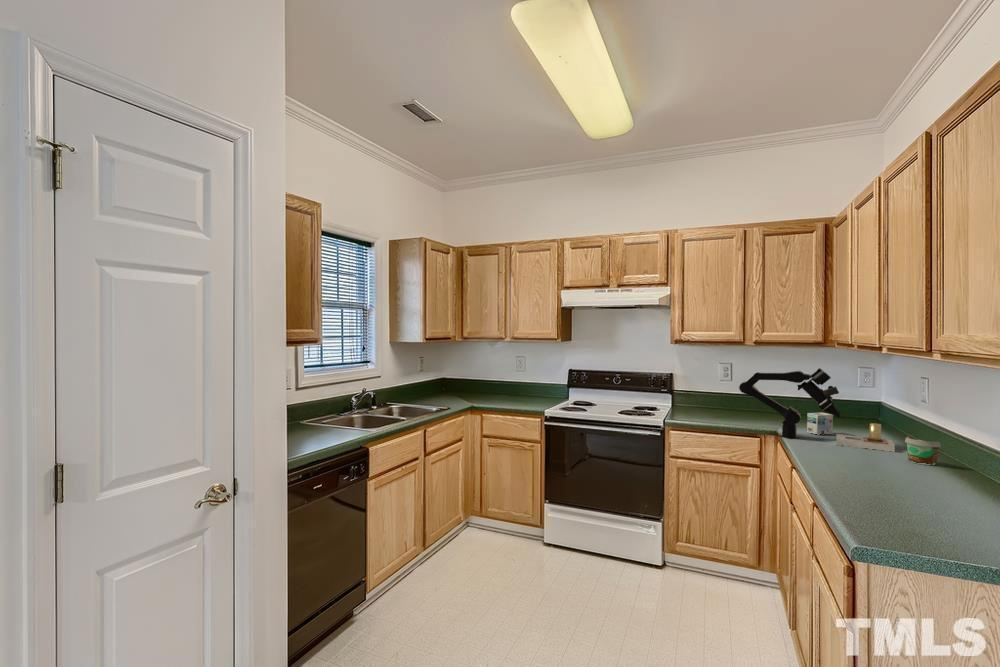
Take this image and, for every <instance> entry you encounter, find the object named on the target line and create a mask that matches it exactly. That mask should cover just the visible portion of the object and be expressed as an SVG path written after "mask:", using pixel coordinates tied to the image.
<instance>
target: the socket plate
mask: <svg viewBox="0 0 1000 667" xmlns="http://www.w3.org/2000/svg"><path fill="white" fill-rule="evenodd" d="M835 438H836V439H835V440H836V441H835V442H837V443H836V446H838V445H845V446H844V447H846V446H852V447H851V448H855V447H861V448H860V449H863V448H868V449H867V450H872V449H876V450H875V451H880V450H884V451H883V452H889V451H892V452H891V453H895V452H896V451H895V450H896V445H895V443H894V442H893V440H892V439H888V438H887V439H886V438H881V442H875V441H869V437H867V436H859V435H858V436H857V435H849V434H841V433H840V434H839V433H836V436H835Z"/></svg>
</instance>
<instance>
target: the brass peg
mask: <svg viewBox="0 0 1000 667" xmlns="http://www.w3.org/2000/svg"><path fill="white" fill-rule="evenodd" d="M868 435H869V441H875V442H881V439H882V424H881V423H877V422H876V423H874V422H872V423H869V434H868Z"/></svg>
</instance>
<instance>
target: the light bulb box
mask: <svg viewBox="0 0 1000 667" xmlns="http://www.w3.org/2000/svg"><path fill="white" fill-rule="evenodd" d="M806 415H807V420H806V421H807V422H806V433H807V432H809V433H808V434H810V433H813V434H812V435H814V434H817V435H816V436H821V435H820V434H832V435H833V424H834V420H833V419H834V415H832V414H830V413H828V412H807V414H806Z"/></svg>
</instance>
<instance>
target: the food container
mask: <svg viewBox="0 0 1000 667" xmlns="http://www.w3.org/2000/svg"><path fill="white" fill-rule="evenodd" d="M904 442H905V443H906V447H907V448H906V450H907V457H908V459H907V460H908V461H909V460H910V461H913V462H916V463H926V464H933V463H936V464H937V460H938V455H939V448H941V447H942V446H941V443H940V441H928V440H925V439H916V438H910V436H909V435H908V436H906V437H905V440H904ZM910 461H909V462H910ZM916 463H915V464H916Z"/></svg>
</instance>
